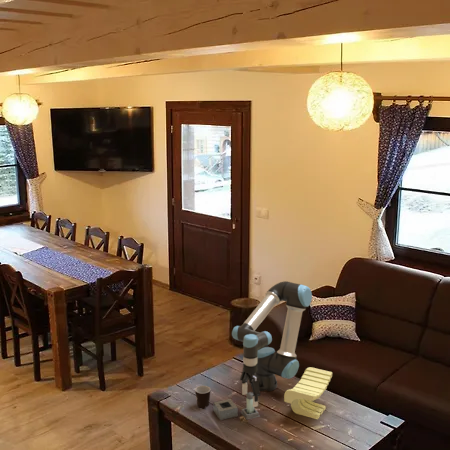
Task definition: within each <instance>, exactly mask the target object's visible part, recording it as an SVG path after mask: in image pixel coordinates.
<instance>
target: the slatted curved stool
mask: <svg viewBox="0 0 450 450" xmlns="http://www.w3.org/2000/svg"><path fill="white" fill-rule="evenodd" d="M332 377H333V372H332V371H328V370H324V369H320V368H317V367H316V368H315V367H313V366H312V367H310V366H309V367H307V368H305V370H304V373H303V374H302V376H301V377H300V380H299V381H298V382H297V383H296V385H294V387H293V388H290V389H286V390H285V392H284V395H283V397H284V398H283V402H284V403H286V404H287V403H288V404H290V406H291V407H290V408H291V410H292V411H293V413H294V414H296V415H300V416H304V417H308V418H312V419H315V420H319V419H320V417H321V416H322V414H323V413H324V412H325V410H326V409H327V406H326V405H324V404H321V403H317V402H315V400H318V399H320V398H321V395H323V393H324V392H326V390H327V388H328V386H329V383H330V382H331V379H332Z"/></svg>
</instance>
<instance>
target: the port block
mask: <svg viewBox="0 0 450 450" xmlns="http://www.w3.org/2000/svg"><path fill="white" fill-rule="evenodd" d="M212 404H213V405H212V407H213V410H212V411H213V412H214V413H215V415H216V416H217V418H218V420H220V421H222V420H227V419H228V420H229V419H232V418H235V417H236V418H237V417H238V415H239V414H238V406H237V405H236V404H235V403H234V402H233V400H232V399H231V398H228V399H223V400H218V401H214V402H213V403H212Z"/></svg>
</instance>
